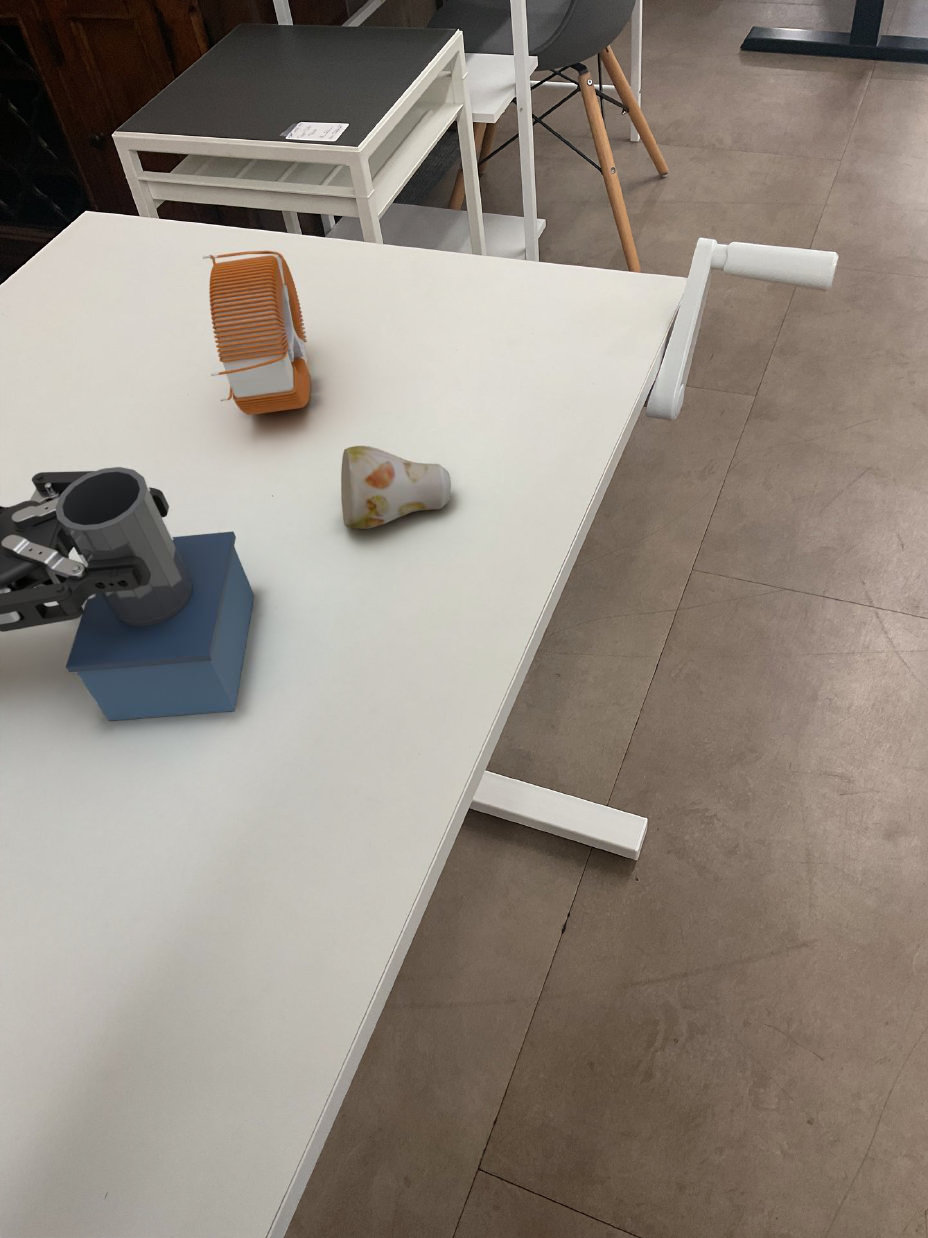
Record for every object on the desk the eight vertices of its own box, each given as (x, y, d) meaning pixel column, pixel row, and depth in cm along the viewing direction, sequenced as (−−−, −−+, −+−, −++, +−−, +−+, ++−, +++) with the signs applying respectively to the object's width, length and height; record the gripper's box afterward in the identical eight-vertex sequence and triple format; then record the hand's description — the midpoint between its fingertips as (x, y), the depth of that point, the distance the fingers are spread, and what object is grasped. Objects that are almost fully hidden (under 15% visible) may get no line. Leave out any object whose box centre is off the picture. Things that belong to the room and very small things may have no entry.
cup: (185, 623, 74) (135, 524, 66) (103, 630, 74) (45, 533, 67) (199, 562, 78) (154, 463, 70) (121, 569, 78) (68, 471, 71)
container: (238, 714, 77) (209, 655, 71) (103, 724, 78) (65, 667, 72) (258, 592, 85) (233, 530, 80) (137, 602, 86) (104, 543, 80)
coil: (314, 352, 107) (278, 220, 96) (309, 441, 98) (269, 306, 86) (250, 361, 108) (207, 230, 97) (239, 451, 98) (190, 317, 87)
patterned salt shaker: (470, 523, 88) (404, 473, 80) (380, 565, 92) (309, 521, 84) (459, 454, 91) (395, 399, 83) (372, 497, 95) (303, 448, 87)
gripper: (-137, 596, 65) (114, 572, 64) (-63, 451, 74) (157, 428, 73) (-76, 667, 71) (155, 647, 69) (-15, 525, 80) (190, 504, 79)
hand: (155, 535), depth 71 cm, fingers closed on cup, 6 cm apart
